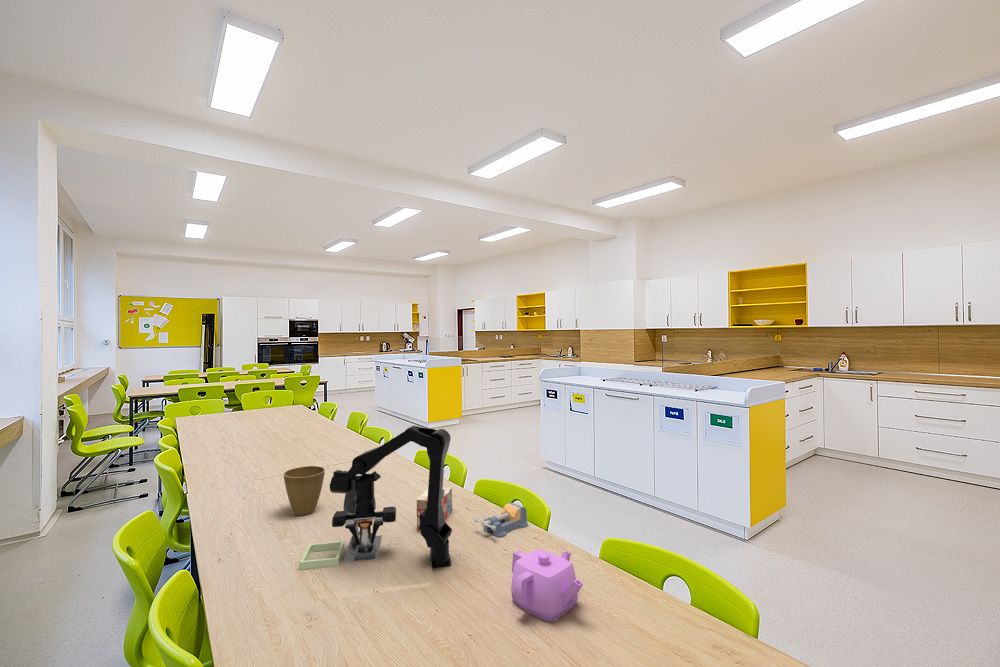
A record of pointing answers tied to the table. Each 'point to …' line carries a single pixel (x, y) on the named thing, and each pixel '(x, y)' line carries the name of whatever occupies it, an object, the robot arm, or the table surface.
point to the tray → (322, 562)
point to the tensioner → (355, 554)
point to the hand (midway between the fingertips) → (365, 543)
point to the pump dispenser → (349, 503)
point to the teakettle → (544, 583)
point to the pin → (365, 535)
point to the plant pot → (304, 488)
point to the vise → (505, 520)
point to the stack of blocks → (445, 503)
